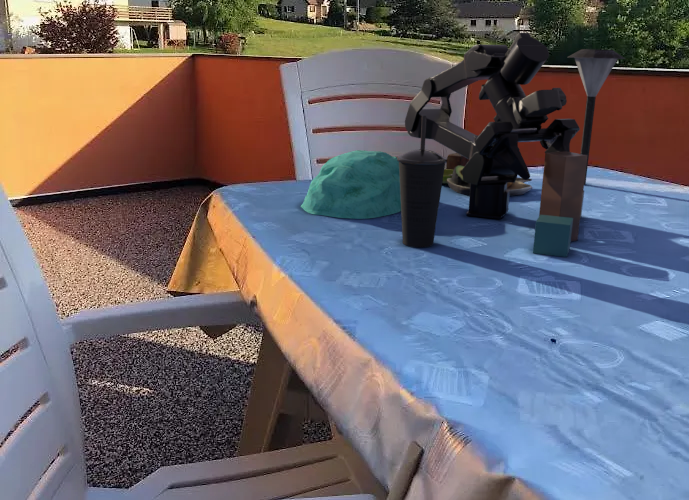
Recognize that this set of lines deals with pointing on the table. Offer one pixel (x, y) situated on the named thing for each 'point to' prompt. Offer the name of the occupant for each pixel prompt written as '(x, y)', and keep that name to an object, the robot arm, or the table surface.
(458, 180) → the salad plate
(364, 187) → the decorative stone
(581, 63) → the solar garden light
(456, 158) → the brick
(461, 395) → the table surface
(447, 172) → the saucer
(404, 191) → the drinking cup
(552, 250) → the cube near
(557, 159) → the walnut block
